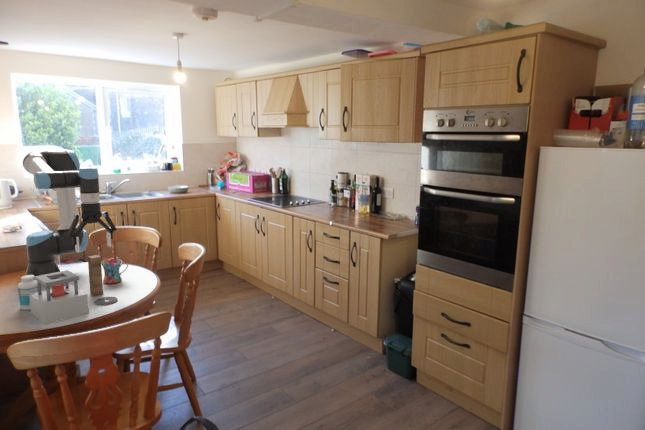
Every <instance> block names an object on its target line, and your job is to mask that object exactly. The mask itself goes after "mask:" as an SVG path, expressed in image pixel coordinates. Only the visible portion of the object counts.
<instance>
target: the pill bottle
mask: <svg viewBox="0 0 645 430" xmlns="http://www.w3.org/2000/svg"><path fill="white" fill-rule="evenodd" d="M34 279H35V276H34V275H23V276H20V280H21V282H19V283H18V285H17V291H18V300H19V301H18V302H19V308H20V309H21V310H23V311H29V310H30V311H31V308H30V298H29V294H33V293H37V292H38V285H37V281H36V280H34Z"/></svg>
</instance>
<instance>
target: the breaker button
mask: <svg viewBox="0 0 645 430" xmlns="http://www.w3.org/2000/svg"><path fill="white" fill-rule="evenodd" d="M64 287H65V283H62V284H57V285H53V286H50V288H51V289H52V298H54V297H59V296H63V295H65V290H64Z"/></svg>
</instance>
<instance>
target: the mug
mask: <svg viewBox="0 0 645 430" xmlns="http://www.w3.org/2000/svg"><path fill="white" fill-rule="evenodd" d="M124 264H125V265H126V267H125V269H124V270H122V271H120V268H121V267H122V265H124ZM101 267H102V268H103V270H104V276H103V277H104V278H103V279H102V283H105V284H116V283H119V282H121V281H122V280H123V279H122V277H121V276H122V274H123V273H124V272H125V271H126V270H127V269H128V267H129V264H128V263H127V262H123V261H122V259H120V258H110V259H104V260H101Z"/></svg>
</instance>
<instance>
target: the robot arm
mask: <svg viewBox="0 0 645 430" xmlns="http://www.w3.org/2000/svg"><path fill="white" fill-rule="evenodd" d="M77 155H78V154H77V153H76V152H75V151H74V150H71V149H37V150H34V151H31V152H29V153H28V154H26V155H25V157H24V158H23V160H22V167H23V168H24V170H25V171H26V172H27V173H29V174H31V175H33V183H34V187H35V188H36V189H38V190H52V189H53V190H54V189H55V193H56V201H57V202H56V203H57V212H58V220H59V226H58V227H57V229H56V231H57V232H54V231H53V230H49V229H48V230H41V231H36V232H33V233H30V234H29V235H27V236H26V238H25V239H26V240H25V243H26V244H25V246H26V251H27V267H26V271H25V275H34V276H40V275H45V274H50V273H55V272H61V270H60V267H59V265H58V264H57V260H56V256H62V255H63V256H64V255H69V254H78V253H82V252H84V251H85V250H86V249H87V247H88V232H87V230H86V229H84V228H85V226H87V224H97V223H98V224H100V226H102V228H104V230H106V245H107V246H106V247H108V248H111V247H112V240H113V239H114V235H113V233H114V232H115V231H117V227H116V226H115V224H114V223H113V221H112V219H111V217H110V215H109V212H108V211H104V210H103V212H101V203H100V201H101V197H100V183H99V182H100V181H99V180H100V179H99V177H100V175H99V170H98V168H97V167H93V166H86V167H85V166H84V167H83V166H82V167H81V165H80V159H79V158H78V156H77ZM76 188H79V195H80V197H79V198H80V208H81V214H79V213H78V205H77V204H78V203H77V195H76ZM102 217H103V218H104V219H105V221H106V222H107V224H106V223H105V222H104V221H103V220H102V219H101V218H102ZM80 219H82V220H81V222H80V221H79V220H80ZM108 225H109V226H108ZM25 275H24V276H25ZM54 279H56V278H54ZM34 280H35V279H34ZM51 280H53V279H51Z"/></svg>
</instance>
